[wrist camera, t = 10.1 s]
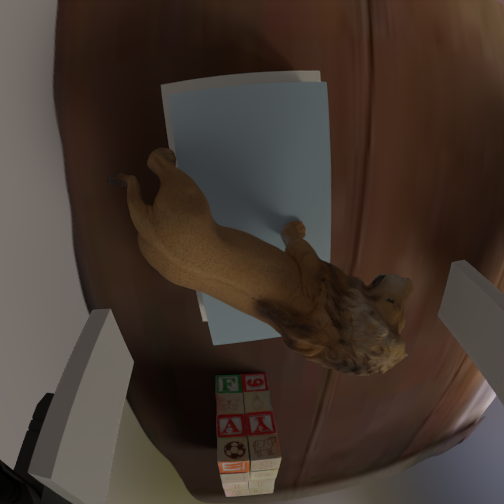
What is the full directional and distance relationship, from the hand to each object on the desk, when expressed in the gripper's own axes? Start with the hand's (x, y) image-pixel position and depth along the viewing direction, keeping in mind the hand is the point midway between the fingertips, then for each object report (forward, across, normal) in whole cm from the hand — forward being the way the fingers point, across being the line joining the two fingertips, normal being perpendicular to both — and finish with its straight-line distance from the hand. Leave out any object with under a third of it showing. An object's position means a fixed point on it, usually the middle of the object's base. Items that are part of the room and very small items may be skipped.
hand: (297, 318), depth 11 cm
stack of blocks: (+17, +5, +32) cm, 37 cm away
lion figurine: (+8, +1, -1) cm, 8 cm away
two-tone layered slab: (+16, 0, 0) cm, 17 cm away
